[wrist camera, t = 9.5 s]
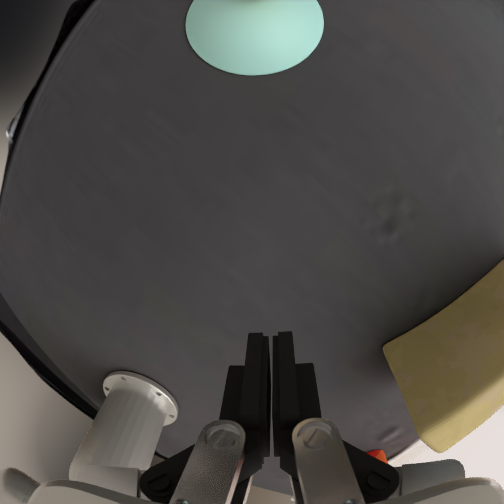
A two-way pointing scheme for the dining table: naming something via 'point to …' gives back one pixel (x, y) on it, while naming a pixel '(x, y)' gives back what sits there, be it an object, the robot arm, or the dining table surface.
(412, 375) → the cheese
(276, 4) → the disc
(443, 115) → the dining table surface
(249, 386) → the robot arm
